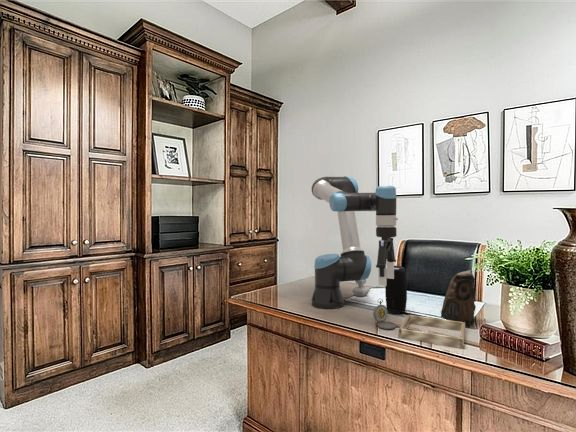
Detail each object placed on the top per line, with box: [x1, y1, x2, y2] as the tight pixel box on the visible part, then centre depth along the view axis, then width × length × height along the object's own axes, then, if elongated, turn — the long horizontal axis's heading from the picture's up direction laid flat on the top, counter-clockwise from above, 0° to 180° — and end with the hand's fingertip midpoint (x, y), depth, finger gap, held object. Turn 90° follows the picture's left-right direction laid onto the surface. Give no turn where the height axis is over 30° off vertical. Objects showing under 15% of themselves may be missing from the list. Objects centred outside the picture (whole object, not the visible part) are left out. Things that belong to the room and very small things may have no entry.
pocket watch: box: [372, 298, 397, 330], centre depth 129 cm, size 8×8×10 cm
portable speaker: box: [384, 265, 408, 315], centre depth 146 cm, size 9×9×20 cm
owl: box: [440, 269, 477, 327], centre depth 132 cm, size 13×13×20 cm
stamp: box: [351, 279, 371, 297], centre depth 174 cm, size 9×7×8 cm
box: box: [398, 314, 466, 350], centre depth 120 cm, size 20×18×3 cm
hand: (386, 281), depth 129 cm, fingers open, 13 cm apart
